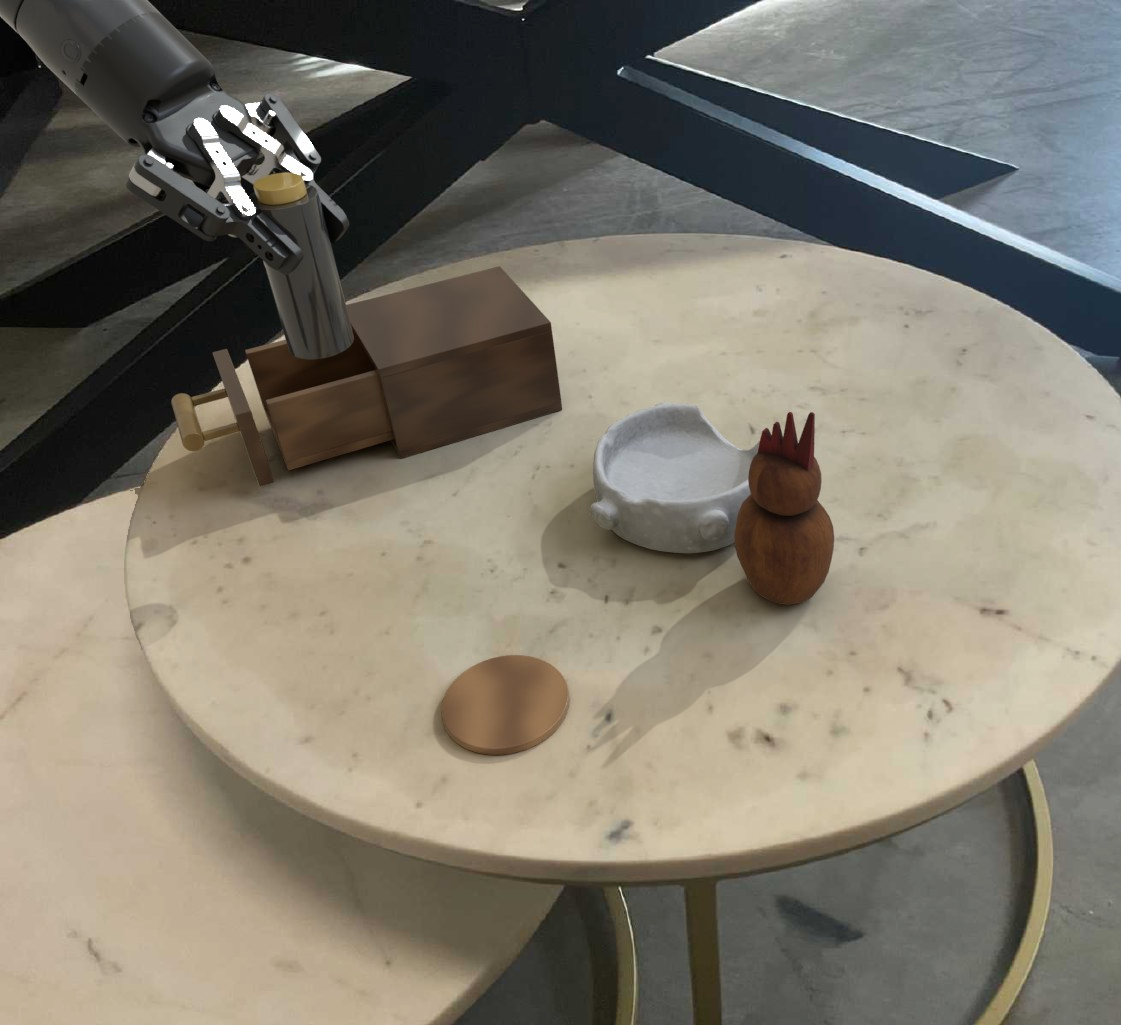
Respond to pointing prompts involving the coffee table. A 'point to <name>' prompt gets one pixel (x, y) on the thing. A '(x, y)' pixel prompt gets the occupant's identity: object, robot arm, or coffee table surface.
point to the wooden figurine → (785, 518)
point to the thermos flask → (305, 269)
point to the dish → (670, 480)
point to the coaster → (505, 704)
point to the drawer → (296, 406)
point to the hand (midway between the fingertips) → (318, 248)
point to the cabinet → (458, 358)
